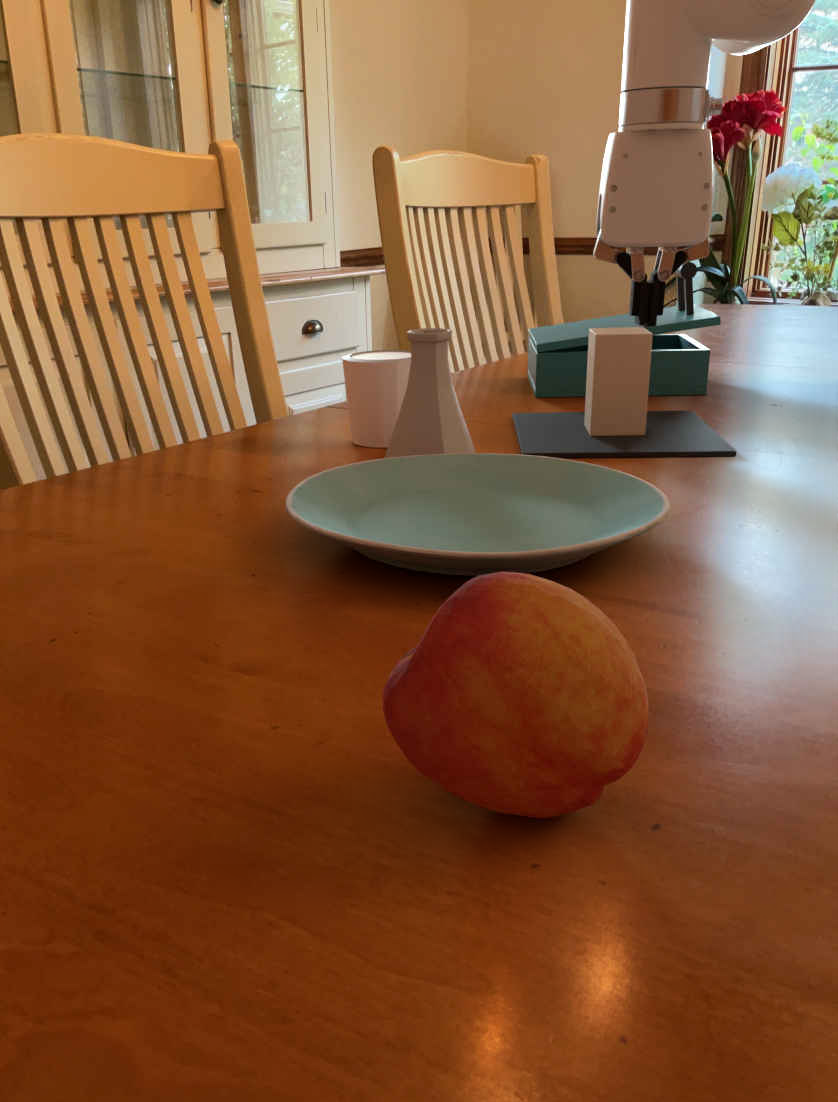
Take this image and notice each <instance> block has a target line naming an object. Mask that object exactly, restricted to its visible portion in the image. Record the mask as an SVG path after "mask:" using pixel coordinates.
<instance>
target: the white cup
mask: <svg viewBox="0 0 838 1102" xmlns="http://www.w3.org/2000/svg"><path fill="white" fill-rule="evenodd" d="M341 360H342V369H343V378H344V386H345V392H346V393H345V394H346V402H347V410H348V418H349V425H350V433H351V441H352V443H353V444H354V445H357V446H360V447H367V448H379V449H380V448H381V449H382V448H388V446H389V443H390V440H391V437H392V434H393V431H394V428H395V425H396V422H397V419H398V416H399V412H400V409H401V406H402V402H403V399H404V396H405V392H406V389H407V384H408V378H409V372H410V365H411V350H406V349H405V350H404V349H377V350H375V349H374V350H364V351H359V352H354V353H349V354H345V355H342V356H341Z"/></svg>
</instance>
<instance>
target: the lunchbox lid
mask: <svg viewBox="0 0 838 1102" xmlns="http://www.w3.org/2000/svg"><path fill="white" fill-rule="evenodd" d="M697 274H698V267H697V264H696V263H694V262H693V261H691V262H686V263H684V264H683V265H682V266H681V267H680V268H679V269H678V270H676V271H675V272H674V273H673V274H672V275H674V276H675V279H676V281H675V282H676V300H677V301H676V304H677V305H673V306H668V307H664V309H663V315H661V316H657V322H656V325H649V324H645V325H644V326H639V325H638V324H636V323H635V316H630V313H622V314H616V315H615V314H614V315H609V316H601V317H597V318H589V319H583V320H577V321H571V322H564V323H557V324H551V325H544V326H538V327H532V328H531V327H530V328H528V329H527V330H528V338H529V337H530V339H531V341H532V343H533V345H534V347H535V349H536V351H537V352H544V351H551V350H557V349H564V348H570V347H577V346H584V345H588V341H589V328H618V327H644V328H645V329H647V330H648V331H649V332H651V333H652V334H653V335H656V334H671V333H675V332H681V331H682V332H683V331H688V330H689V331H690V330H696V329H701V328H708V327H709V328H710V327H716V326H721V316H720V315H718V314H716V313H714V312H712V311H710V310H708V309H706V308H703V307H701V306H699V305H697V304H695V303H694V284H693V283H694V282H693V280H694V279H693V278H695V277H696V275H697Z"/></svg>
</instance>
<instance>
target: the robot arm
mask: <svg viewBox="0 0 838 1102" xmlns="http://www.w3.org/2000/svg"><path fill="white" fill-rule="evenodd" d="M815 2H816V0H626V6H625V7H626V8H625V9H626V10H625V24H624V38H623V40H624V41H623V51H622V52H623V55H622V67H621V68H622V69H621V70H622V71H621V85H620V86H621V87H620V100H619V116H618V131H614V132H610V133H609V134H608V138H607V142H606V146H605V151H604V156H603V161H602V168H601V175H600V183H599V190H598V198H597V199H598V200H597V210H596V222H595V223H596V225H595V234H596V235H595V236H596V241H595V244H594V248H593V252H592V255H593V259H596V260H597V261H598V260H599V261H602V262H606V263H611V264H614V265H617V266H618V267H619V268H620V269H621V270H622V272H623V273H624V274H626V276H627V277H628V279H630V280H631V283H630V297H629V298H630V299H629V309H628V310H629V313H630V316H635V323H636V324H638V325H639V326H644V325H645V324H649V325H656V322H657V316H661V315H663V309H664V308H665V298H666V296H665V295H666V285H667V284H666V283H667V281H669V280H670V278H671V277H672V276H673V275H674V274H673V273H674V272H675V271H676V270H678V269H679V268H680V267H681V266H682V265H683V264H684V263H686V262H694V261H697V260H702V259H705V258H707V257H709V256H710V253H711V249H710V242H709V235H710V231H711V226H712V218H713V203H714V202H713V199H714V198H713V196H714V155H713V154H714V153H713V139H712V131H711V129H710V128H704V126H705V123H706V122H707V119H709V117H713V116H717V115H718V116H720V115H721V114H722V111H723V103H724V102H723V98H722V97H720V98H716V97H714V96H711V94H710V89H708V86H709V74H710V65H711V64H710V63H711V55H712V54H711V53H712V45H713V46H714V47H715V48H716V49H717V50H719V51H721V52H722V53H725V54H728V55H733V56H743V55H748V54H749V55H750V54H753V53H755V52H757V51H759V50H761V49H763V48H765V47H767V46H770V45H771V44H774V43H776V42H778V41H780V40H782V39H784V38H785V37H787V36H788V35H790V34H792V33H793V32H794V31H795V30H797V29H798V28H799V27H800V26H801V25H802V23H803V22H804V21H805V20H806V19H807V17H808V16H809V14H810V13H811V11H812V9H813V7H814V5H815ZM678 247H684V248H681V249H678ZM615 248H625V251H623V250H618V249H615ZM644 248H657V253H656V257H655V262H654V266H653V270H652V272H651V273H650V278H649V279H648V274H647V273H646V265H645V252H644V251H645V249H644Z"/></svg>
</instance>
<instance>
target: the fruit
mask: <svg viewBox="0 0 838 1102" xmlns="http://www.w3.org/2000/svg"><path fill="white" fill-rule="evenodd" d="M381 697H382V712H383V715H384V719H385V723H386V726H387V729H388V730H389V732H390V734H391V736H392V738H393V740H394V742H395V743H396V745H397V746H398V747H399V749H400V750H401V752H402V754H403V755H404V757H405V758H406V759H407V761H408V762H409V764H411V765H412V766H413V767H414V768H415V769H416V770H417V771H418V772H419V773H420V774H422V775H423V776H424V777H426V778H427V779H429V780H430V781H432V782H433V783H434V784H436V785H437V786H438V787H441V788H442V789H444V790H445V791H447V792H448V793H451V794H452V795H454V796H455V797H457V798H459V799H462V800H463V801H466V802H468V803H470V804H471V805H474V806H477V807H480V808H483V809H485V810H488V811H492V812H495V813H500V814H504V815H505V814H506V815H513V816H519V817H528V818H535V819H547V818H555V817H560V816H563V815H566V814H569V813H573V812H576V811H579V810H581V809H584V808H587V807H589V806H592V805H593V804H594V803H595V802H597V800H598V799H599V798H600V797H601V796H602V795H603V793H604V787H605V786H606V785H609V784H612V783H615V782H617V781H618V780H619V779H621V778H622V777H624V776H625V775H626V774H627V773H628V772H629V771H631V770H632V768H633V767H634V765H635V764H636V762H637V761H638V759H639V757H640V755H641V753H642V751H643V748H644V745H645V742H646V738H647V735H648V727H649V714H650V713H649V711H650V704H649V698H648V692H647V686H646V682H645V680H644V676H643V674H642V672H641V669H640V666H639V664H638V662H637V659H636V657H635V654H634V652H633V650H632V648H631V647H630V645H629V642H627V639H626V637H624V635H623V634H622V633H621V632H620V630H619V629H618V627H617V626H616V625H615V624H614V622H613V621H611V619H610V618H609V617H608V616H607V615H606V614H605V613H604V612H603V611H602V610H601V609H600V608H599V607H598V606H596V605H595V604H594V603H593V602H591V601H590V600H589V599H587V598H586V597H584V596H583V595H582V594H580V593H578V592H577V591H575V590H574V589H572V588H569V587H567V586H565V585H563V584H560V583H558V582H555V581H553V580H550V579H548V578H547V579H546V578H544V577H540V576H537V575H533V574H530V573H514V572H497V573H491V574H485V575H479V576H474V577H473V578H471V579H469V580H467V581H466V582H464V583H463V584H462V585H461V586H460V587H458V588H457V589H456V590H455V591H454V592H453V593H452V594H451V595H450V596H449V597H448V598H447V599H446V600H445V601H444V602H443V603H442V604H441V605H440V607H439V608H438V610H437V611H436V613H435V614H434V616H433V617H432V619H431V621H430V622H429V623H428V625H427V627H426V628H425V629H424V632H423V634H422V636H421V638H420V640H419V642H418V643H417V645H416V646H414V647H413V648H412V649H410V650H409V651H408V652H407V653H405V654H404V655H403V656H401V658H400V659H399V660H398V661H397V662H396V664H395V665H394V667H393V668H392V669H391V672H390V674H389V675H388V678H387V680H386V681H385V685H384V688H383V691H382V696H381Z"/></svg>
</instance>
